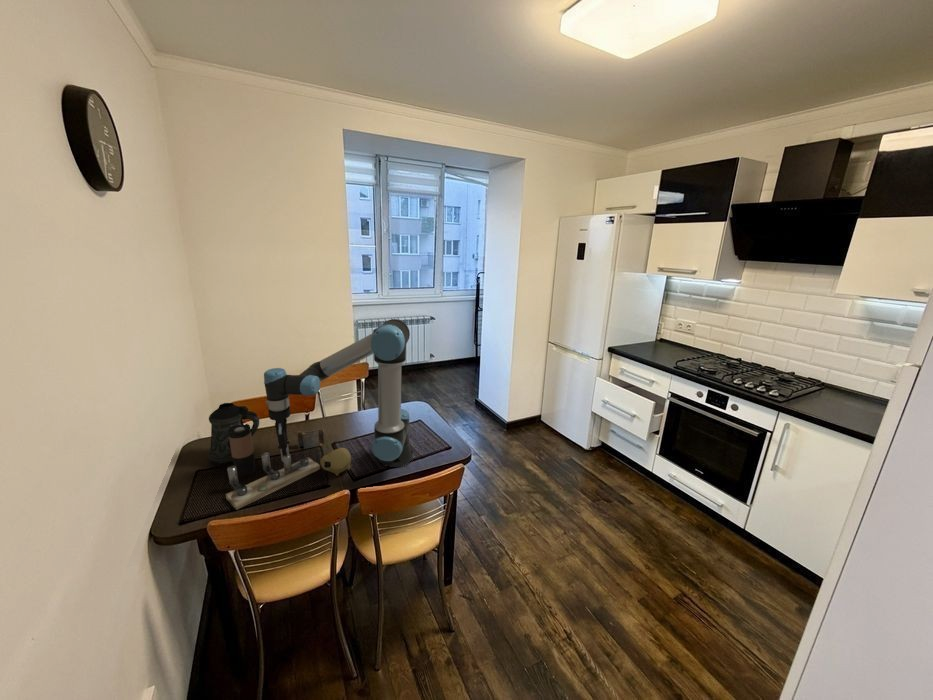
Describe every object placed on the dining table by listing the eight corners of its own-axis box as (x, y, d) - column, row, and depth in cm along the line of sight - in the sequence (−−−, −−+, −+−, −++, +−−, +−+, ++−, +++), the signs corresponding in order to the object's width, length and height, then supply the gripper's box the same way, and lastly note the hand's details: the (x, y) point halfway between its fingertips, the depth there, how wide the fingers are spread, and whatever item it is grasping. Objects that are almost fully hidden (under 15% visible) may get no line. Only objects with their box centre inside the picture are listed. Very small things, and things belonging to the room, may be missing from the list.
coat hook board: (319, 469, 153) (319, 463, 152) (236, 509, 128) (235, 503, 127) (308, 460, 158) (307, 455, 157) (226, 498, 133) (225, 492, 133)
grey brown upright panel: (298, 450, 166) (296, 432, 163) (298, 447, 168) (296, 428, 166) (325, 446, 170) (323, 427, 167) (324, 443, 173) (323, 424, 170)
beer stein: (204, 456, 158) (194, 404, 151) (253, 440, 172) (246, 392, 164) (215, 473, 147) (205, 418, 140) (266, 454, 161) (259, 403, 154)
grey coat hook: (306, 461, 154) (304, 445, 151) (310, 463, 152) (308, 447, 150) (283, 472, 146) (281, 455, 144) (287, 475, 144) (285, 458, 142)
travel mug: (241, 479, 144) (233, 434, 138) (231, 472, 148) (223, 429, 142) (260, 470, 150) (254, 427, 145) (250, 463, 154) (243, 421, 148)
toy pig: (318, 470, 152) (316, 448, 149) (347, 461, 158) (346, 440, 155) (325, 483, 144) (323, 459, 141) (354, 473, 151) (353, 451, 148)
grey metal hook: (281, 477, 143) (279, 460, 140) (273, 481, 140) (271, 464, 138) (269, 467, 148) (267, 451, 146) (261, 471, 146) (259, 454, 144)
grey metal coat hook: (249, 492, 133) (246, 475, 131) (239, 497, 131) (236, 479, 129) (237, 481, 139) (234, 464, 137) (228, 485, 137) (225, 468, 135)
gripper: (269, 401, 145) (276, 453, 152) (266, 416, 134) (273, 471, 140) (290, 399, 148) (296, 450, 155) (288, 413, 136) (295, 467, 143)
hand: (285, 460), depth 148 cm, fingers closed
